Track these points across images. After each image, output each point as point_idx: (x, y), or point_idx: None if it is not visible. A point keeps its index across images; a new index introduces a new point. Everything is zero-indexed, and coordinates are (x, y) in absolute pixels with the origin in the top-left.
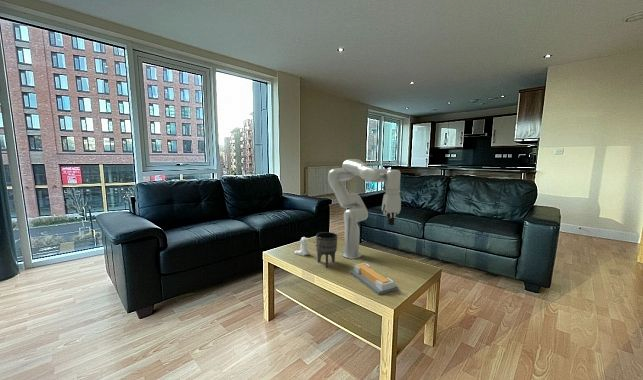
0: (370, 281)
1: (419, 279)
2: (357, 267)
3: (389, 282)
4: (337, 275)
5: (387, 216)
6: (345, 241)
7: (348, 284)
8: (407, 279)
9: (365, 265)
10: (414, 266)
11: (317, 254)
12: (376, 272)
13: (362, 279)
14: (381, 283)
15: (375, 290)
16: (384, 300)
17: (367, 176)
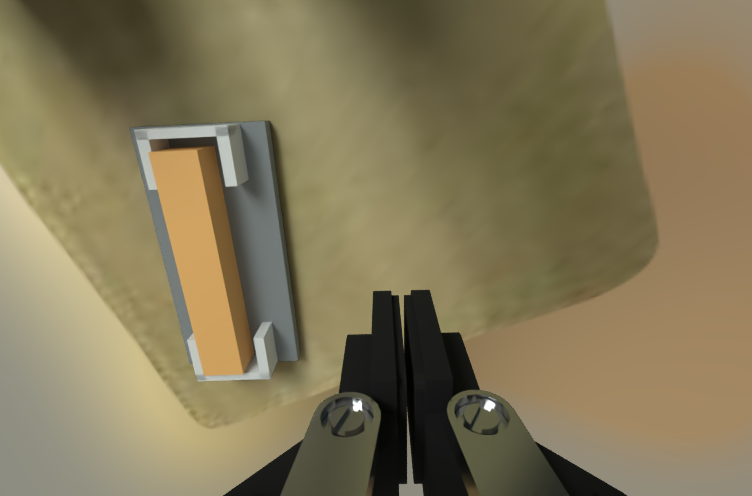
0: None
1: (460, 318)
2: (146, 174)
3: (241, 376)
4: (56, 123)
5: (296, 454)
6: None
7: (94, 238)
8: None
9: (202, 180)
10: (571, 191)
11: None
12: (224, 285)
13: (164, 249)
14: (200, 371)
15: (187, 345)
16: (202, 390)
17: None
